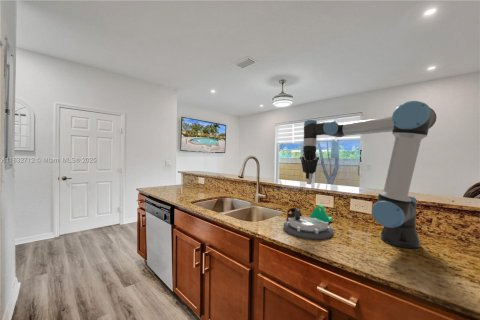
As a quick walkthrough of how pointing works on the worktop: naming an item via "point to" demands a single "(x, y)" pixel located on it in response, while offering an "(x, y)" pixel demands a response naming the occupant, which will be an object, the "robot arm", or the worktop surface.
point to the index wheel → (307, 224)
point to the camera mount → (320, 214)
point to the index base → (308, 235)
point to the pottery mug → (292, 213)
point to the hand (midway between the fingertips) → (308, 184)
